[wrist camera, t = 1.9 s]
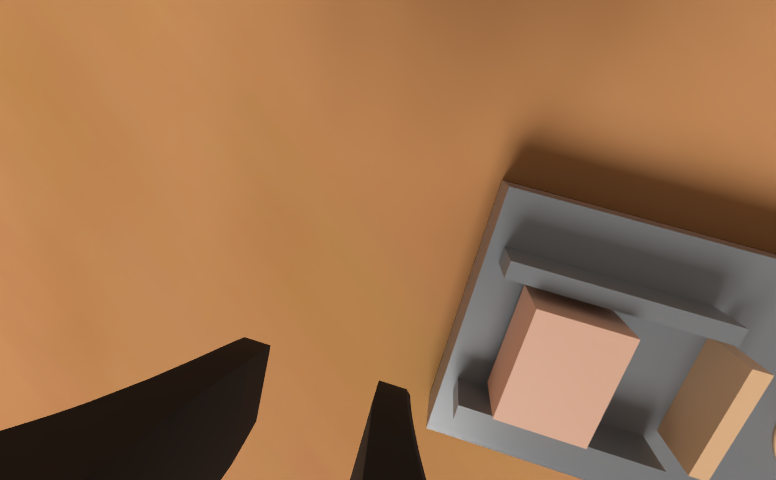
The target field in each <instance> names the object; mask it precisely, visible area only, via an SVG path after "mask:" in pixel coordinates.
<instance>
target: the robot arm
mask: <svg viewBox="0 0 776 480" xmlns="http://www.w3.org/2000/svg"><path fill="white" fill-rule="evenodd" d="M269 351H270V345H267V344H264V343H261V342H258V341H255V340H252V339H248V338H245V337H244V338H242V339H239V340H237V341H234V342H232V343H230V344H228V345H225V346H223V347H221V348H219V349H216V350H214V351H212V352H210V353H207V354H205V355H203V356H201V357H199V358H196V359H194V360H192V361H189V362H187V363H185V364H183V365H180V366H178V367H176V368H173V369H171V370H169V371H166V372H164V373H162V374H159V375H157V376H155V377H152V378H150V379H147V380H145V381H142V382H140V383H137V384H134V385H132V386H129V387H127V388H124V389H122V390H119V391H116V392H114V393H111V394H109V395H106V396H103V397H101V398H98V399H96V400H93V401H91V402H88V403H85V404H82V405H79V406H76V407H74V408H71V409H68V410H65V411H62V412H59V413H56V414H53V415H50V416H47V417H44V418H40V419H37V420H34V421H31V422H28V423H24V424H21V425H18V426H15V427H12V428H8V429H5V430H2V431H0V480H221V479H222V477H223V476H224V474H225V473H226V472H227V470H228V469H229V467H230V466H231V464H232V463H233V461H234V459H235V457H236V456H237V454H238V452H239V451H240V449H241V447H242V445H243V444H244V442H245V440H246V438H247V437H248V435H249V433H250V431H251V429H252V428H253V426H254V424H255V422H256V419H257V414H258V409H259V403H260V398H261V393H262V388H263V382H264V377H265V372H266V367H267V361H268V356H269ZM350 480H426V477H425V474H424V470H423V466H422V462H421V458H420V454H419V450H418V445H417V441H416V436H415V430H414V425H413V419H412V412H411V403H410V395H409V393H408V391H407V389H404V388H401V387H398V386H394V385H391V384H388V383H385V382H382V381H379V383H378V386H377V389H376V392H375V396H374V399H373V402H372V406H371V409H370V413H369V416H368V419H367V423H366V426H365V430H364V433H363V437H362V440H361V444H360V447H359V451H358V454H357V458H356V461H355V465H354V468H353V472H352V475H351V478H350Z"/></svg>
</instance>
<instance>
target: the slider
mask: <svg viewBox="0 0 776 480" xmlns="http://www.w3.org/2000/svg"><path fill="white" fill-rule="evenodd" d="M639 342H640V339H639V338H638V336H637V335H636V334H635V333H634V332H633V331H632V330H631V329H630V328H629V327H628V326H627V325H626V324H625V323H624V321H623V320H622V319H621V318H620V317H619V316H618V315H617V314H616V313H615V312H614V311H613V310H610V309H607V308H603V307H600V306H596V305H593V304H590V303H586V302H583V301H579V300H576V299H572V298H569V297H565V296H562V295H559V294H555V293H552V292H548V291H545V290H541V289H538V288H535V287H531V286H528V285H524V287H523V290H522V293H521V295H520V298H519V300H518V303H517V306H516V308H515V311H514V314H513V316H512V319H511V321H510V324H509V327H508V329H507V332H506V335H505V337H504V340H503V342H502V345H501V348H500V350H499V353H498V355H497V358H496V361H495V363H494V366H493V369H492V371H491V374H490V376H489V379H488V382H487V383H488V390H489V397H490V404H491V410H492V417H493V419H494V420H498V421H501V422H504V423H507V424H510V425H513V426H516V427H519V428H522V429H525V430H529V431H532V432H535V433H538V434H541V435H544V436H547V437H550V438H553V439H556V440H560V441H563V442H566V443H569V444H572V445H575V446H578V447H581V448H584V449H587V447H588V445H589V443H590V441H591V439H592V437H593V435H594V433H595V431H596V429H597V427H598V425H599V423H600V421H601V419H602V417H603V415H604V413H605V411H606V409H607V407H608V405H609V403H610V401H611V399H612V396H613V394H614V392H615V390H616V388H617V386H618V384H619V382H620V380H621V378H622V376H623V374H624V372H625V370H626V368H627V366H628V364H629V362H630V360H631V358H632V356H633V354H634V352H635V350H636V348H637V346H638V344H639Z"/></svg>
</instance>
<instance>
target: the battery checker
mask: <svg viewBox="0 0 776 480" xmlns="http://www.w3.org/2000/svg"><path fill="white" fill-rule="evenodd" d="M524 285H528V286H531V287H535V288H538V289H541V290H545V291H548V292H552V293H555V294H559V295H562V296H565V297H569V298H572V299H576V300H579V301H583V302H586V303H590V304H593V305H596V306H600V307H603V308H607V309H610V310H613V311H614V312H615V313H616V314H617V315H618V316H619V317H620V318H621V319H622V320H623V321H624V323H625V324H626V325H627V326H628V327H629V328H630V329H631V330H632V331H633V332H634V333H635V334H636V335H637V336H638V338H639V339H640V342H639V344H638V346H637V348H636V350H635V352H634V354H633V356H632V358H631V360H630V362H629V364H628V366H627V368H626V370H625V372H624V374H623V376H622V378H621V380H620V382H619V384H618V386H617V388H616V390H615V392H614V394H613V396H612V399H611V401H610V403H609V405H608V407H607V409H606V411H605V413H604V415H603V417H602V419H601V421H600V423H599V425H598V427H597V429H596V431H595V433H594V435H593V437H592V439H591V441H590V443H589V445H588V447H587V449H584V448H581V447H578V446H575V445H572V444H569V443H566V442H563V441H560V440H556V439H553V438H550V437H547V436H544V435H541V434H538V433H535V432H532V431H529V430H525V429H522V428H519V427H516V426H513V425H510V424H507V423H504V422H501V421H498V420H494V419H493V417H492V410H491V404H490V397H489V390H488V383H487V382H488V379H489V376H490V374H491V371H492V369H493V366H494V363H495V361H496V358H497V355H498V353H499V350H500V348H501V345H502V342H503V340H504V337H505V335H506V332H507V329H508V327H509V324H510V321H511V319H512V316H513V314H514V311H515V308H516V306H517V303H518V300H519V298H520V295H521V293H522V290H523V287H524ZM426 428H428V429H431V430H434V431H437V432H440V433H443V434H446V435H449V436H452V437H455V438H458V439H461V440H464V441H467V442H470V443H473V444H476V445H479V446H483V447H486V448H489V449H492V450H495V451H498V452H501V453H504V454H507V455H510V456H513V457H516V458H519V459H522V460H525V461H528V462H531V463H534V464H537V465H540V466H543V467H546V468H549V469H552V470H555V471H559V472H562V473H565V474H568V475H571V476H574V477H577V478H580V479H583V480H776V254H773V253H769V252H766V251H762V250H758V249H754V248H751V247H747V246H743V245H740V244H736V243H732V242H729V241H725V240H721V239H718V238H714V237H710V236H706V235H703V234H699V233H695V232H692V231H688V230H684V229H681V228H677V227H673V226H670V225H666V224H662V223H658V222H655V221H651V220H647V219H644V218H640V217H636V216H633V215H629V214H625V213H622V212H618V211H614V210H610V209H607V208H603V207H599V206H596V205H592V204H588V203H585V202H581V201H577V200H574V199H570V198H566V197H562V196H559V195H555V194H551V193H548V192H544V191H540V190H537V189H533V188H529V187H525V186H522V185H518V184H514V183H511V182H507V181H503V180H502V181H501V184H500V187H499V190H498V193H497V196H496V199H495V202H494V205H493V208H492V211H491V214H490V217H489V220H488V223H487V226H486V229H485V232H484V235H483V238H482V241H481V244H480V247H479V250H478V253H477V256H476V259H475V262H474V265H473V268H472V271H471V274H470V277H469V280H468V283H467V285H466V288H465V291H464V294H463V297H462V300H461V303H460V306H459V309H458V312H457V315H456V318H455V321H454V324H453V327H452V330H451V333H450V336H449V339H448V342H447V345H446V348H445V351H444V354H443V357H442V360H441V363H440V366H439V369H438V372H437V375H436V378H435V381H434V384H433V387H432V390H431V393H430V396H429V404H428V415H427V426H426Z"/></svg>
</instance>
